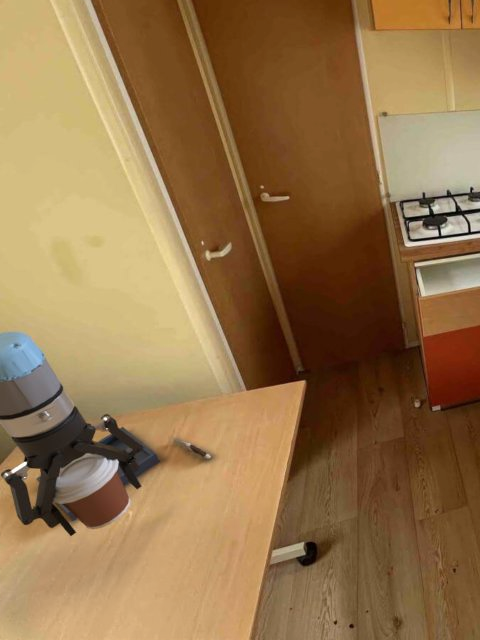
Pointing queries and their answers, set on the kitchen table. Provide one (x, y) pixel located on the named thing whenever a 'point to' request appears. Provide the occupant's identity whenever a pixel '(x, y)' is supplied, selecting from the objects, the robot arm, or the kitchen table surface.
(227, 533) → the kitchen table surface
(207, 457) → the pocket knife
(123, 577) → the kitchen table surface
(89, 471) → the coffee cup
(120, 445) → the tray
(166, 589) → the kitchen table surface
